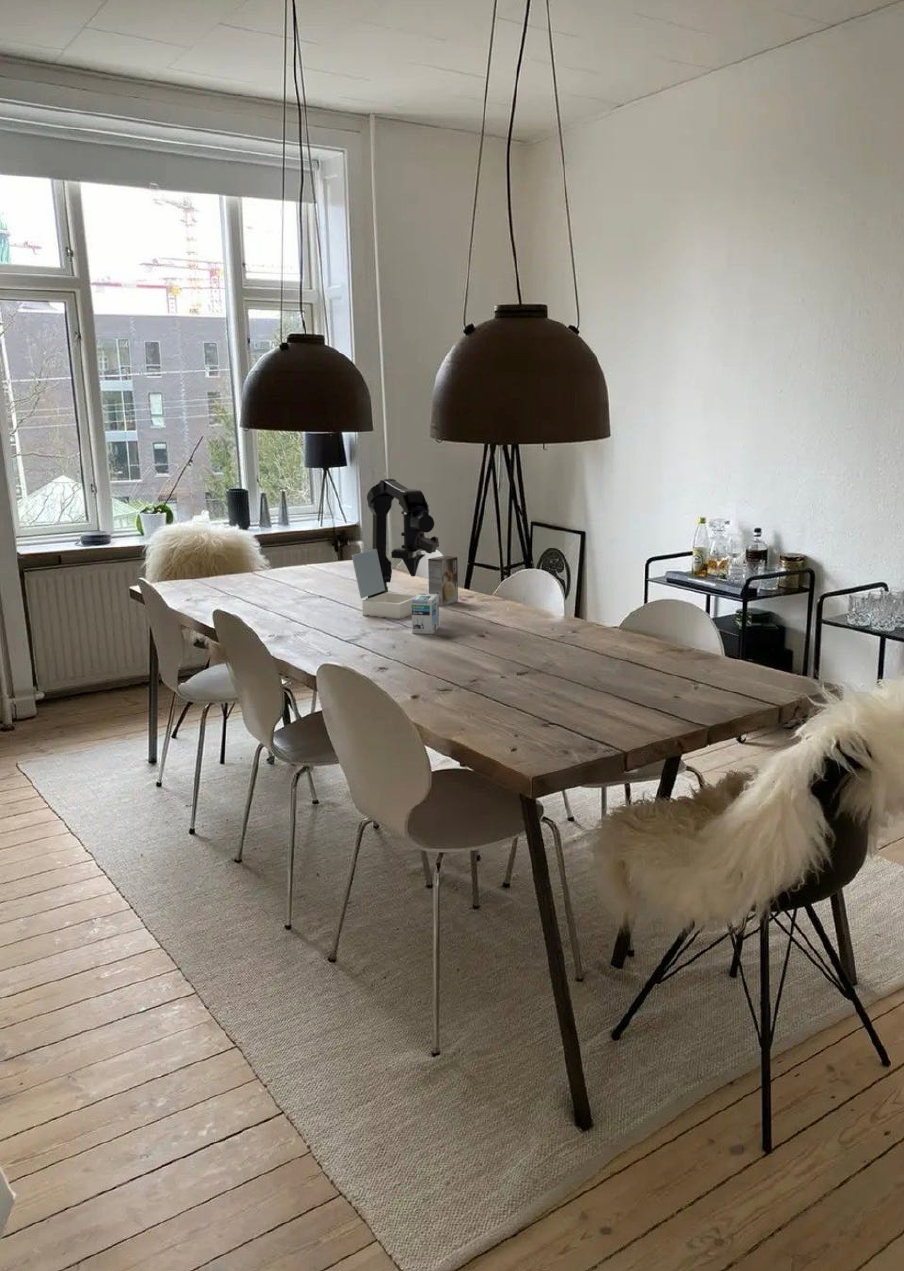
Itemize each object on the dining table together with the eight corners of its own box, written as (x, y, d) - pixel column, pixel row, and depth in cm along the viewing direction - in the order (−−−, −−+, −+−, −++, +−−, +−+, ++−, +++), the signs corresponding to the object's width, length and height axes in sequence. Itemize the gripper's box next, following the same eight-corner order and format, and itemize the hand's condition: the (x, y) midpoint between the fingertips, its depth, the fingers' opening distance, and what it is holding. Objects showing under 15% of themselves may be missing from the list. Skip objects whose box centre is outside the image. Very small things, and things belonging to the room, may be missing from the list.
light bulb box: (432, 634, 301) (432, 600, 298) (411, 633, 302) (410, 599, 299) (440, 626, 311) (439, 593, 308) (419, 626, 312) (418, 592, 310)
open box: (362, 615, 327) (362, 600, 326) (386, 606, 341) (386, 592, 340) (399, 619, 321) (399, 604, 320) (422, 609, 335) (422, 595, 334)
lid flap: (362, 598, 327) (360, 598, 327) (385, 590, 340) (383, 590, 340) (353, 555, 325) (351, 555, 325) (376, 548, 338) (375, 549, 338)
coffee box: (444, 599, 353) (443, 555, 349) (458, 601, 349) (458, 556, 345) (428, 603, 346) (427, 558, 342) (442, 606, 342) (442, 560, 338)
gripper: (420, 534, 310) (421, 582, 313) (447, 527, 326) (447, 573, 330) (390, 532, 314) (391, 580, 318) (417, 525, 331) (418, 571, 334)
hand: (413, 576), depth 325 cm, fingers closed
